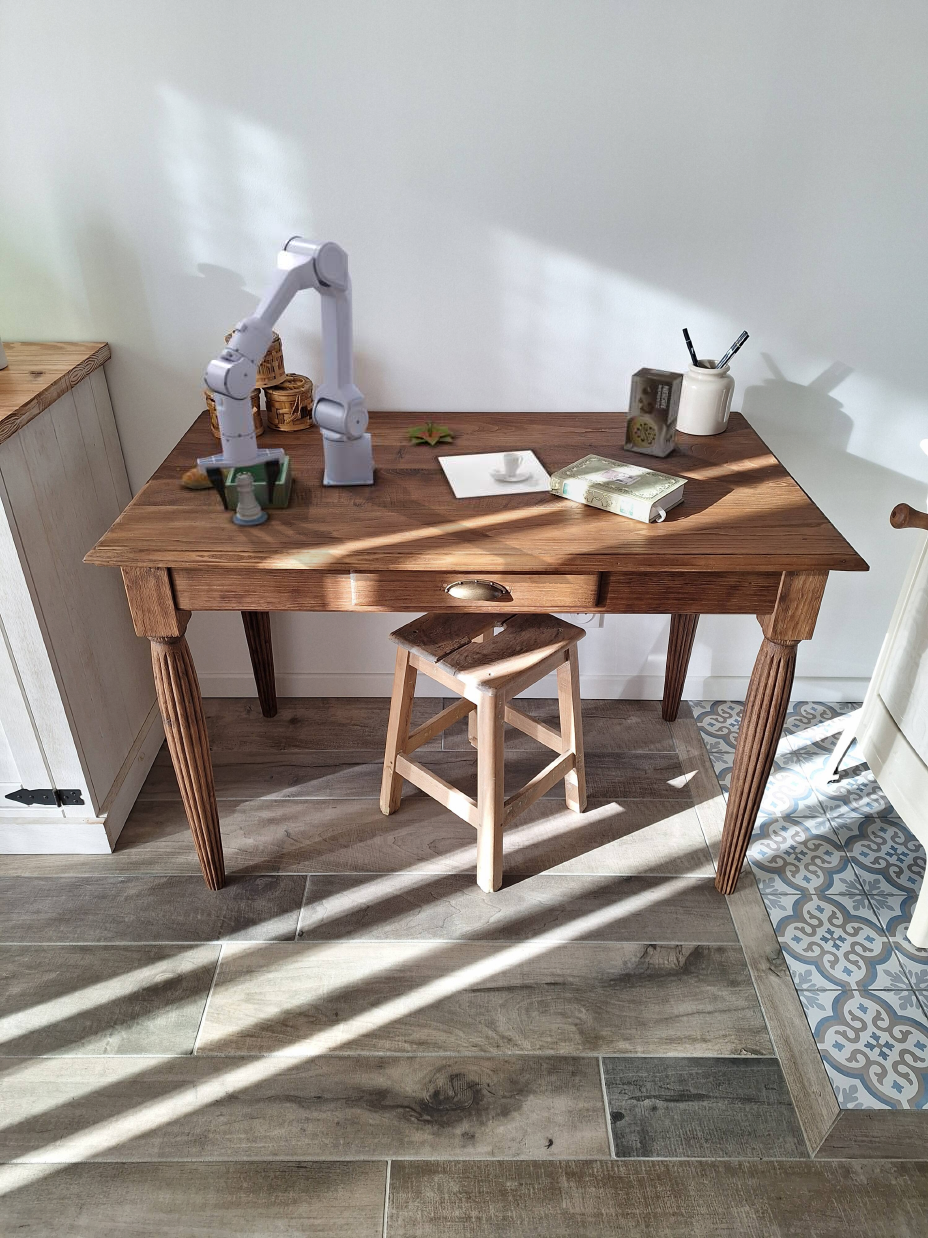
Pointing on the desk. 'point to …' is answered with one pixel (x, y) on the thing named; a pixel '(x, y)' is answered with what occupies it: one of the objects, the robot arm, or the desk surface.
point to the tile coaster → (249, 523)
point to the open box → (261, 485)
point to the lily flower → (430, 433)
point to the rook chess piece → (247, 499)
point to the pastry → (201, 478)
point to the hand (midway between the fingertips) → (248, 504)
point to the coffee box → (653, 411)
